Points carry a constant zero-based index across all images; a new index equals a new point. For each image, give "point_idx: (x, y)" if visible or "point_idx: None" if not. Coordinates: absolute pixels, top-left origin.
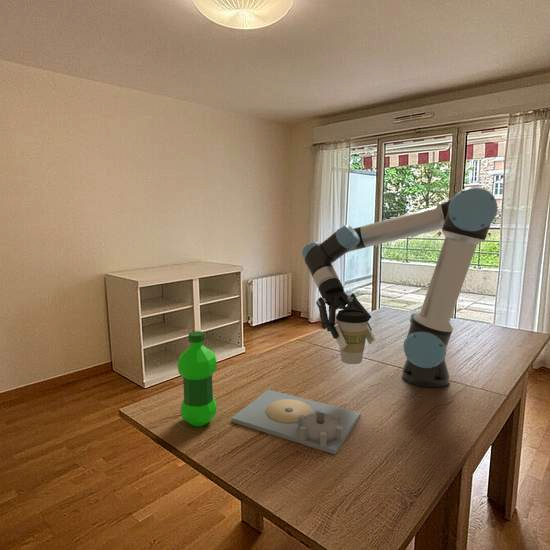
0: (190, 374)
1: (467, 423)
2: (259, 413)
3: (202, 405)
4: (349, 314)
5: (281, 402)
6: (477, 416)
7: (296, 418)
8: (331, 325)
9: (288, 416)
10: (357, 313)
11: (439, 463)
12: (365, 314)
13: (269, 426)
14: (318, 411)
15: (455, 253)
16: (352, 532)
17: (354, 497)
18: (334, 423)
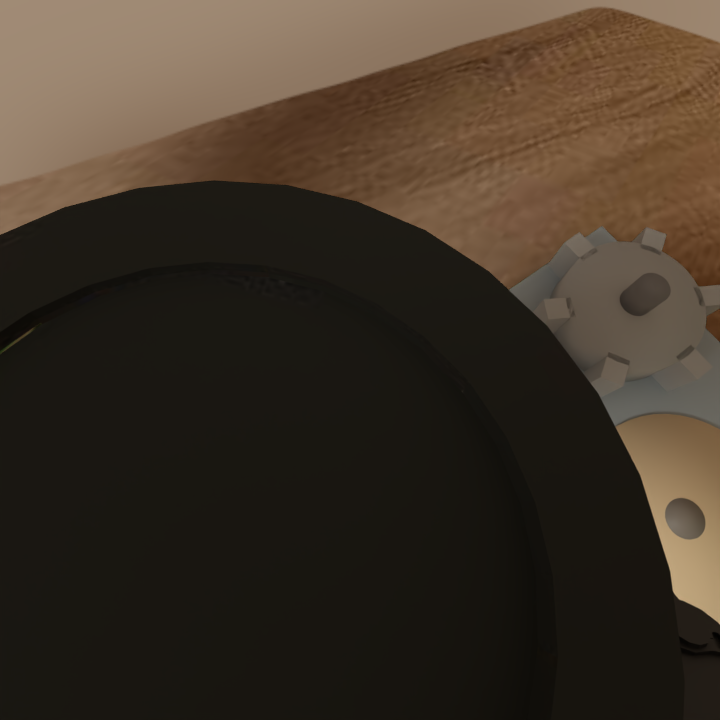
0: None
1: (83, 191)
2: None
3: None
4: (354, 531)
5: (702, 607)
6: (7, 205)
7: (672, 437)
8: (711, 629)
9: (701, 466)
10: (65, 510)
11: (344, 105)
12: (56, 213)
13: None
14: (611, 371)
15: None
16: (668, 46)
17: (620, 104)
18: (587, 271)
